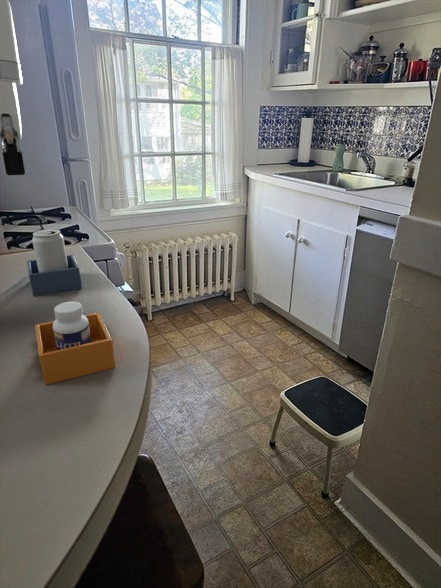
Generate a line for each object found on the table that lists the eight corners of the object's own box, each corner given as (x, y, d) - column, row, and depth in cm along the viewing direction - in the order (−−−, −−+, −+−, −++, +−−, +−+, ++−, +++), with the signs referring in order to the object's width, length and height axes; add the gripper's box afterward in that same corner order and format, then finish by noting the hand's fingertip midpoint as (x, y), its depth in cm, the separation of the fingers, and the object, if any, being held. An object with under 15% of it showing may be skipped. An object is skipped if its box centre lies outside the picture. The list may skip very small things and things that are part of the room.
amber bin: (45, 385, 57) (38, 356, 55) (40, 350, 66) (34, 324, 63) (115, 367, 61) (111, 339, 59) (102, 337, 70) (99, 312, 68)
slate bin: (33, 296, 85) (28, 275, 83) (31, 280, 93) (26, 260, 91) (82, 288, 89) (78, 267, 87) (75, 273, 98) (72, 254, 95)
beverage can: (67, 286, 89) (58, 235, 84) (38, 288, 88) (27, 236, 83) (72, 276, 94) (64, 227, 89) (44, 277, 93) (35, 228, 88)
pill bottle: (52, 364, 61) (42, 314, 57) (66, 346, 66) (58, 299, 62) (86, 366, 61) (77, 315, 57) (97, 347, 65) (90, 300, 62)
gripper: (-23, 76, 77) (-5, 167, 83) (-29, 67, 62) (-8, 178, 69) (20, 79, 80) (33, 167, 87) (23, 71, 66) (39, 176, 72)
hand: (15, 172), depth 78 cm, fingers open, 9 cm apart
